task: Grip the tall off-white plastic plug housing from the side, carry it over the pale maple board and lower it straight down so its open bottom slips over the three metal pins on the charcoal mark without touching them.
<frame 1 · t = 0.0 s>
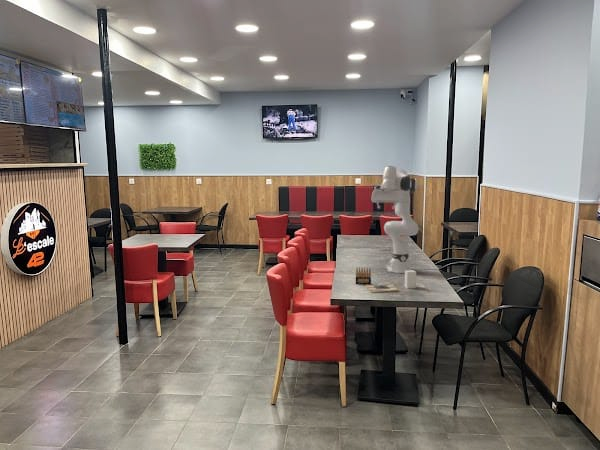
hand: (385, 208, 286), 54 cm above the table, tool tilted 30°, fingers open, 8 cm apart
ammunition clip: (363, 284, 310), on the table
header board: (381, 288, 297), on the table
header pins: (381, 285, 297), on the header board, point 2 cm above the table
plug housing: (410, 287, 300), on the table
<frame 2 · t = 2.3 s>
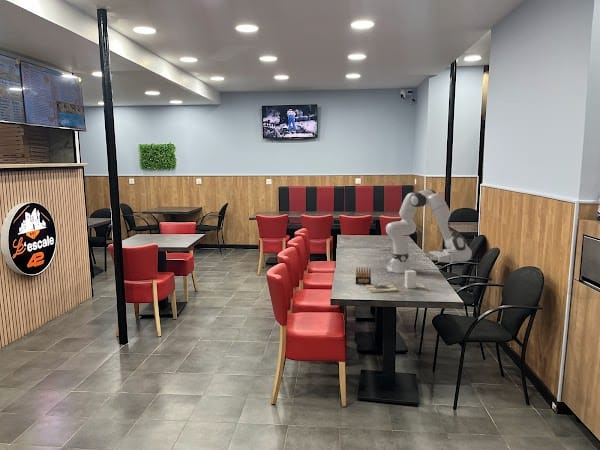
hand: (427, 256, 298), 20 cm above the table, tool horizontal, fingers open, 8 cm apart
nothing on the table moved.
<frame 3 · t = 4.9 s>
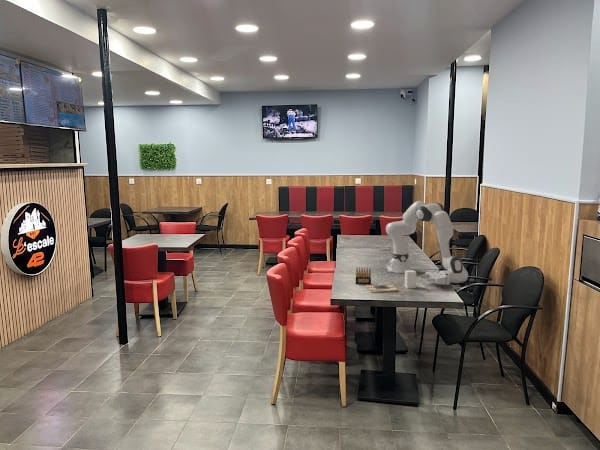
hand: (423, 277, 300), 6 cm above the table, tool horizontal, fingers open, 8 cm apart
nothing on the table moved.
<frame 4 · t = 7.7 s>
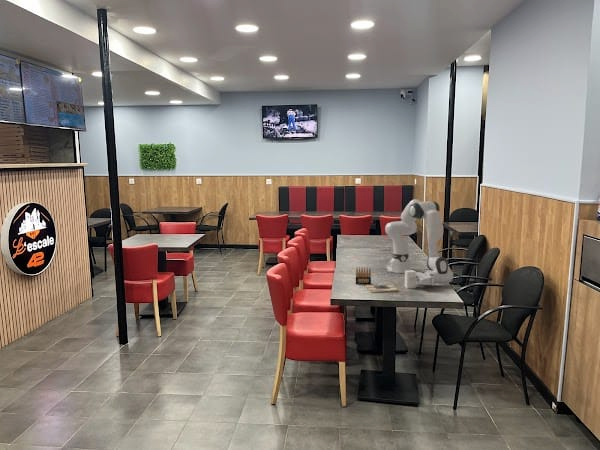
hand: (409, 278, 299), 6 cm above the table, tool horizontal, fingers closed on plug housing, 5 cm apart
plug housing: (410, 287, 300), on the table, touching gripper
everything else where it was.
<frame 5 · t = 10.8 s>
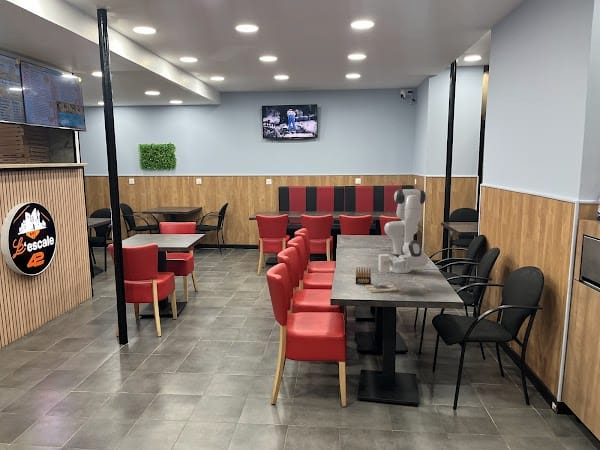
hand: (382, 262, 295), 18 cm above the table, tool horizontal, fingers closed on plug housing, 5 cm apart
plug housing: (383, 271, 295), point 12 cm above the table, touching gripper
everything else where it was.
when the fingers open (8 cm above the table, at t = 14.2 s): plug housing stays where it is, resting on header board.
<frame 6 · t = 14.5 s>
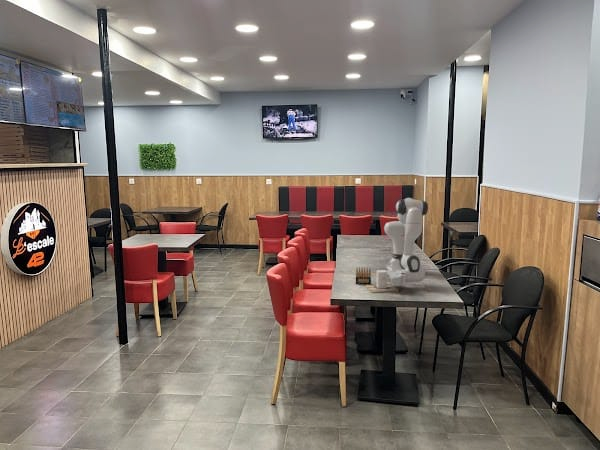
hand: (380, 277, 296), 8 cm above the table, tool horizontal, fingers open, 8 cm apart
plug housing: (381, 287, 297), point 1 cm above the table, touching header board
everything else where it was.
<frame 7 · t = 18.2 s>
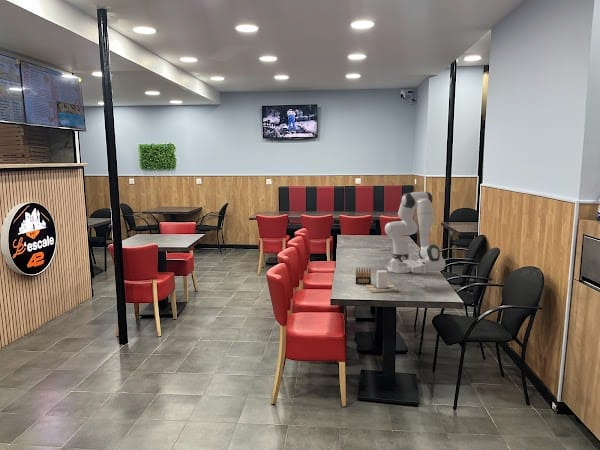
hand: (400, 266, 297), 15 cm above the table, tool horizontal, fingers open, 8 cm apart
nothing on the table moved.
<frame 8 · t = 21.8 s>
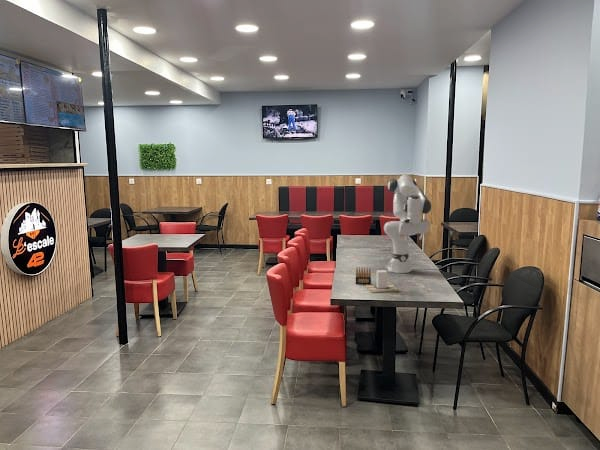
hand: (413, 239, 302), 31 cm above the table, tool pointing down, fingers open, 8 cm apart
nothing on the table moved.
at the end: plug housing 0.0 cm off-centre on the header board, point 1.1 cm above the header board's base; plug housing tilted 0°; plug housing touching header board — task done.
